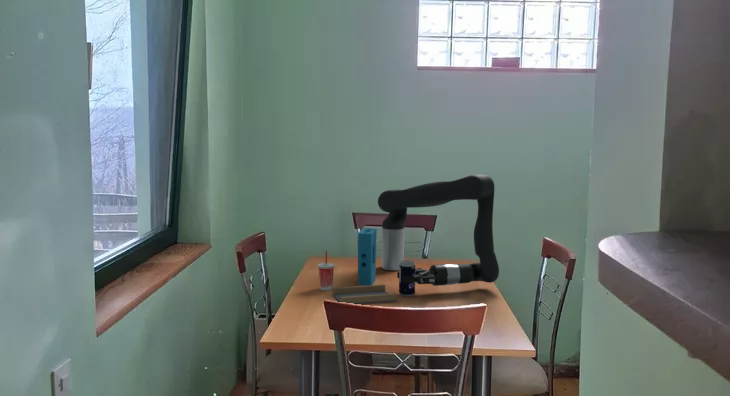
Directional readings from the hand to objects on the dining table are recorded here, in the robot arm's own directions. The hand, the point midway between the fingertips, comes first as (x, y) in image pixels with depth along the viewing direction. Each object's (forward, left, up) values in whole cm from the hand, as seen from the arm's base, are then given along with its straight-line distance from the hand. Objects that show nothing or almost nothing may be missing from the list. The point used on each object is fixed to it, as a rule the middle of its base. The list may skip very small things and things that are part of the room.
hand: (400, 277), depth 215 cm
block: (-20, -7, -7) cm, 22 cm away
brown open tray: (0, -14, -7) cm, 15 cm away
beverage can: (0, +2, -7) cm, 7 cm away
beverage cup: (-15, -24, -7) cm, 29 cm away
